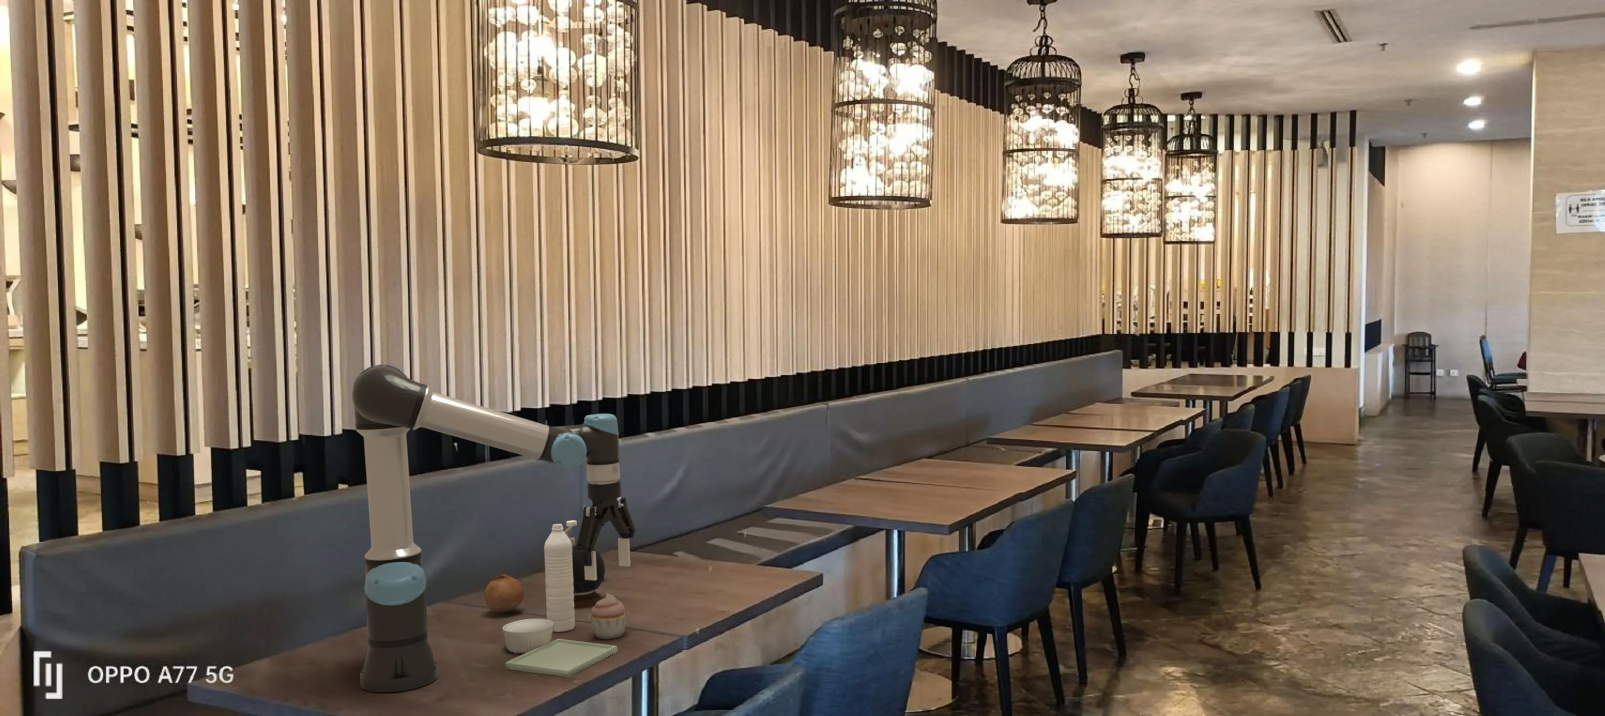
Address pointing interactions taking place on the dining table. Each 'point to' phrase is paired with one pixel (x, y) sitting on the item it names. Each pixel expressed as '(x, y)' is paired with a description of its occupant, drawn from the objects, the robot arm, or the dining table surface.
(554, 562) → the water bottle
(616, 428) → the robot arm
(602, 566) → the black ball on stand
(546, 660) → the tray
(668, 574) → the dining table surface
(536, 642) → the ramekin
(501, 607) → the onion
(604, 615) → the cupcake
